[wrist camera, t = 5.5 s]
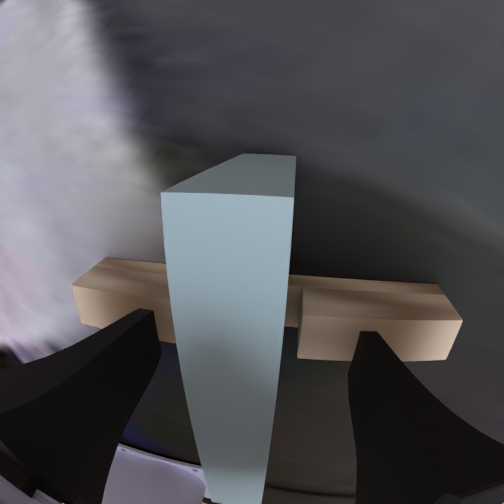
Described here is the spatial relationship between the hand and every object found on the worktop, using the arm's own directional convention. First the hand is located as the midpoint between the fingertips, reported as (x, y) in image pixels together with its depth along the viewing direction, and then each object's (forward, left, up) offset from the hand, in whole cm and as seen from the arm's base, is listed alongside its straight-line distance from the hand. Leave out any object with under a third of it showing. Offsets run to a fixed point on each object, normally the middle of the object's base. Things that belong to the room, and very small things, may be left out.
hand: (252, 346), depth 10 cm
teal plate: (0, 0, -4) cm, 4 cm away
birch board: (0, 0, -4) cm, 4 cm away
